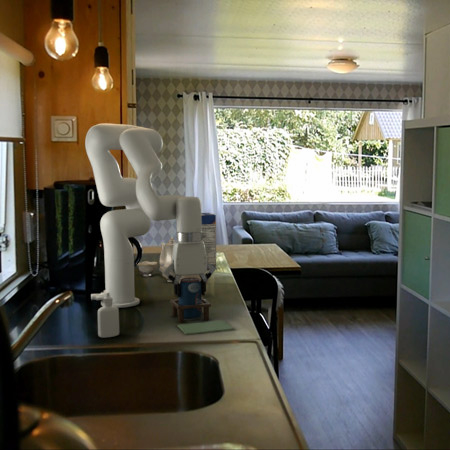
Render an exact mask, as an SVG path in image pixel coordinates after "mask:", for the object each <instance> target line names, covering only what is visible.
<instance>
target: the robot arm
mask: <svg viewBox="0 0 450 450" xmlns="http://www.w3.org/2000/svg"><path fill="white" fill-rule="evenodd" d="M163 142H164V141H163V138H162V136H161V134H160V133H159V131H157V130H155V129H153V128H148V127H143V126H139V125H138V126H137V125H132V124H122V123H120V124H119V123H98V124H96V125H92V126H91V127H90V128H89V129H88V131H87V133H86V134H85V142H84V143H85V144H84V146H85V153H86V156H87V157H88V160H89V163H90V165H91V168H92V172H93V177H94V181H95V185H96V190H97V191H96V192H97V194H98V195H97V196H98V199H99V202H100V203H101V204H102V205H103V206H105V207H109V208H111V207H112V208H115V207H124V206H125V208H124V209H113V210H109V211H107V212H106V213H104V214H103V215H102V217H100V218H101V219H100V221H99V226H100V232H101V236H102V241H103V254H104V255H103V257H104V284H105V285H104V286H105V287H104V288H105V289H104V290H103V291H102V292H100V293H91V294H90V299H91V301H95V300H96V301H100V306H101V307H103V306H104V305H103V298H105V297H106V293H109V295H110V297H112V302H113V305H112V306H116V307H117V308H118V309H120V308H121V309H123V308H130V307H135V306H137V305H139V304H140V302H141V300H140V298H138V297H136V291H135V290H136V289H135V287H136V285H135V255H134V254H135V253H134V248H133V246H132V244H131V242H130V240H129V238H135V237H140V236H144V235H146V234H148V233H149V231H150V229H151V222H152V221H155V222H159V221H160V222H161V221H172V220H176V221H175V222H176V242H174V246H173V254H172V263H171V264H170V265H169V266H168V267H167V268H166V269H165V270H164V271H163V273H164V274H165V275H166V276H167V277H168V278H169V279H170V280H171V281H172V282H171V283H173V294H174V295H175V296H176V297H177V298H179V297H180V284H179V280H180V278H181V276H183V275H197V274H199V276H200V283H201V292H202V296H205V294H206V292H207V285H206V282H207V280H208V279H210V278H211V277H212V275H213V274H214V273H215V271H216V270H217V267H216V268H215V267H214V266H212V265H211V264H210V263H208V262H207V259H206V250H205V245H204V242H203V241H202V239H203V238H204V237H206V233H203V232H202V220H201V213H202V200H201V198H200V197H198V196H184V195H181V194H165V195H158V193H157V192H156V191H155V189H154V187H153V184H152V179H154V178H155V177H156V176H158V175H159V174H160V173H161V171H162V169H163V163H162V162H161V160H160V158H159V156H158V155H157V154H159V153H160V152H161V150H162V149H163V144H164V143H163ZM110 150H111V151H112V150H114V151H123V153H124V155H125V156H126V158H127V160H128V162H129V163H130V165H131V167H132V169H133V171H134V172H135V174H136V176H137V178H134V177H123V176H122V174H121V170H120V165H119V163H118V161H117V159H116V158H115V157H114V155H113V154H112V153H111V151H110ZM151 220H152V221H151ZM207 267H208V268H209V270H207ZM171 270H172V272H173V273H175V276H174V277H173V276H172V275H171V274H170V271H171Z"/></svg>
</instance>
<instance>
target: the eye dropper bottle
mask: <svg viewBox="0 0 450 450" xmlns="http://www.w3.org/2000/svg"><path fill="white" fill-rule="evenodd" d="M103 305H104V306H101V307H100V308H98V310H97V336H98V337H99V338H102V339H108V338H112V337H116V336H117V337H118V336H119V335H120V312H119V308H117V307H116V306H112V305H113V302H112V297H110V295H109V293H106V297H105V298H103Z"/></svg>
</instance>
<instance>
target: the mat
mask: <svg viewBox="0 0 450 450" xmlns="http://www.w3.org/2000/svg"><path fill="white" fill-rule="evenodd" d="M176 326H177V327H178V328H179V329H180V331H182V332H183V334H184V335H186V336H187V335H195V334H196V335H197V334H206V333H215V332H227V331H234V330H235V328H234V327H233V326H231V325H230V324H229V323H228V322H226V321H225V320H224V319H222V320H212V321H204V322H201V321H200V322H192V323H180V324H177V325H176Z"/></svg>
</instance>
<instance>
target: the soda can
mask: <svg viewBox="0 0 450 450" xmlns="http://www.w3.org/2000/svg"><path fill="white" fill-rule="evenodd" d="M200 281H201V280H200ZM200 281H199V279H198V278H183V279H181V280H180V283H179V284H180V297H178V299H179V302H178V305H183V306H187V305H198V304H203V302H202V298H203V297H202V296H203V295H202V292H201V283H200ZM202 314H203V307H200V308H189V309H184V321H195V320H196V321H197V320H199V319H200V318H201V316H202Z"/></svg>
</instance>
